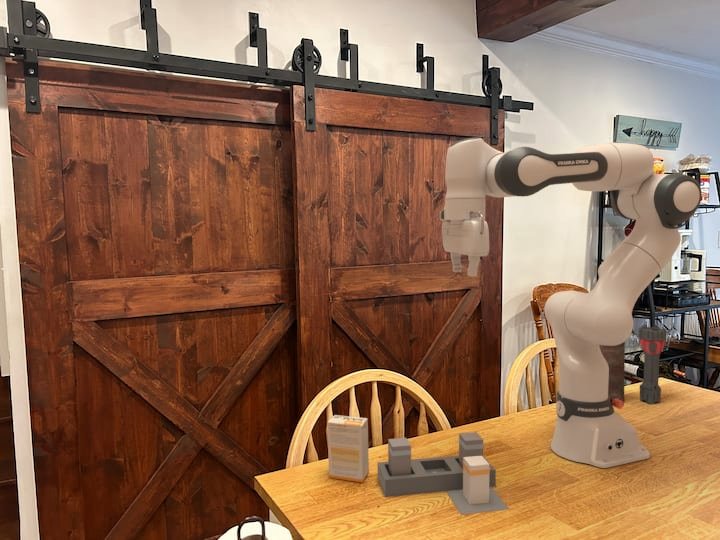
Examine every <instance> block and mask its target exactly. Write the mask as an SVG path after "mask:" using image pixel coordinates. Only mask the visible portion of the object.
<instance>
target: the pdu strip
mask: <svg viewBox="0 0 720 540" xmlns="http://www.w3.org/2000/svg"><path fill="white" fill-rule="evenodd" d="M483 458H484V459H485V460H486V461H487V462H488V463H489V469H490V474H489V487H492V488H493V487H496V478H497V477H496V476H497V473H496V472H497V469H496V468H495V467H494V466H493V465H492V464H491V463H490V462H489V461H488V459H487V458H486V457H485V456H484V455H483ZM377 480H378V483H379V485H380V487H381V489H382V493H383V494H384V495H383V496H384V497H385V498H389V497H399V496H408V495H420V494H427V493H428V494H429V493H431V494H432V493H440V492H446V491H450V490H460V489H463V469H462V468H461V466H460V465H459V454H458V455H447V456H437V457H435V456H434V457H425V458H424V457H423V458H414V459H413V458H411V475H401V476H389V474H388V461H378V462H377Z"/></svg>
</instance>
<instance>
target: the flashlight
mask: <svg viewBox="0 0 720 540" xmlns="http://www.w3.org/2000/svg"><path fill="white" fill-rule="evenodd" d="M637 338H638V339H639V343H640V346H641V349H642V352H643V354H644V360H643V361H644V362H643V363H644V364H643V381H642V383H641V384H640V385H639V400H640V401H641V402H644V401H645V402H646V403H647V404H650V405H653V404H655V403H657V404H658V403H661V392H662V387H660V385H659V375H660V374H659V373H660V355H661V354H662V352H663V349H664V348H665V347H664V346H665V342H666V340H667V328H666V327H662V328H661V327H659V326H656V325H655V326H652V327H651V326H648V325H642V326H639V328H638V337H637Z"/></svg>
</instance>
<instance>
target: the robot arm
mask: <svg viewBox="0 0 720 540" xmlns="http://www.w3.org/2000/svg"><path fill="white" fill-rule="evenodd" d="M654 167H655V157H654V155H653V153H652V151H651V150H650V149H649V148H648V147H646V146H644V145H643V144H636V143H631V142H601V143H595V144H591V145H587V146H582V147H580V148H577V149H576V150H575V151H574V152H573V153H557V154H556V153H553V154H552V153H551V154H550V153H546V152H543V151H541V150H539V149H536V148H533V147H530V146H520V147H519V146H518V147H516V148H514V149H512V150H511V149H510V150H509V151H506V152H502V151H500V150H498V149H495V148H494V147H492V146H490V145H489V144H488V143H487V142H486V141H484V139H483V138H482V137H469V138H468V137H467V138H464V139H460V140H457V141H456V140H455V142H453V143H451V144H450V145H449V147H448V149H447V152H446V158H445V169H444V170H445V172H444V173H445V174H444V181H445V184H446V193H445V196H444V197H445V198H444V207H443V208H442V209H441V210H440V212H439V220H440V221H442V223H441V233H442V235H441V236H442V246H443V250H444V252H447V253H450V259H451V263H452V272H454V273H462V272H463V264H462V260H461V257H462V255H464V256H468V257H467V258H468V267H467V268H466V271H467V272H466V275H467V276H468V277H473V278H474V277H477V276H478V269H479V264H480V262H481V257H487V256H489V254H490V253H489V252H490V234H489V232H490V231H489V226H488V222H487V221H486V196H489V197H493V198H500V199H501V198H509V197H529V196H533V195H535V194H537V193H538V192H540V191H542V190H543V189H545V188H547V187H548V186H552V185H565V184H572V185H573V187H575V188H576V189H577V190H579V191H585V192H608V191H610V195H609V200H610V205H611V209H612V211H613V212H614V213H615V215H617V216H619V217H620V218H623V219H625V220H630V221H635V223H634V226H633V229H632V231H631V232H630V234H628V235H627V236H626V237H625V238H624V239H623V240H622V241H620V243H619V244H618V245H617V247H615V249H614V250H612V252H611V253H610V254H609V255H608V256H607V257H606V258H605V260H603V261H602V262H601V264H600V265H599V267H598V269H597V274H598V279H597V282H596V284H595V285H594V287H593V289H592V290H590V291H589V292H588V293H587V292H583V291H577V290H571V289H570V290H562V291H558V292H557V291H556V292H555V293H552V294H551V295H550V296H549V297H548V298H547V300H546V302H545V304H544V309H543V310H544V318H545V319H546V320H547V322H548V324H549V326H550V327H551V331H552V334H553V337H554V338H553V339H554V342H555V343H554V344H555V346H556V351H557V357H558V391H557V392H556V405H555V406H556V415H557V416H556V422H555V429H554V432H553V433H554V434H553V437H552V440H551V443H550V445H549V446H550V449H551V451H552V452H554V453H555V454H556V455H558V456H559V457H562V458H564V459H566V460H570V461H573V462H576V463H581V464H582V463H583V464H588V465H591V466H594V467H596V468H601V469H606V468H607V469H608V468H612V467H616V466H621V465H626V464H629V463H634V462H638V461H643V460H648V459H650V458H651V455H650V451H649V449H647V448H646V447H645V445H643V444H642V443H640V438H639V433H638V431H637V429H636V428H635V426H634V425H633V424H631V423H630V422H629V421H627V420H626V419H625V418H623V416H622V415H620V414H619V413H617V411H615V409H614V407H615V408H617V409H618V410H621V409H623V408H624V407H625V402H623V401H620V400H619V399H614V400H613V398H612V397H610V396H608V381H609V367H608V363H607V361H606V360H605V358H604V357H603V355H602V353H601V350H600V347H599V345H605V346H615V345H619V344H621V343H623V342H626V341H627V340H628V339H629V338H630V336H631V334H632V332H633V329H634V318H633V315H632V313H633V309H634V307H635V304H636V302H637V301H638V298H639V297H640V295H641V294H642V292H644V291H645V289H647V287H648V286H649V285H650V284H651V283H652V281H653V280H655V278H657V276H658V275H659V274H660V273H661V272H662V270H663V269H664V268H665V267H666V266H667V265H668V263H669V262H670V260H671V259H672V258H673V256H674V254H675V253H676V251H677V250H678V248H679V246H680V244H681V241H682V240H681V239H682V238H681V233H680V230H679V229H680V228H682V227H684V226H686V225H687V224H688V223H689V222H690V219H691V218H692V217H693V216H694V215H695V213H696V212H697V210H698V208H699V206H700V204H701V200H702V189H701V185H700V183H699V181H697V179H695V178H694V177H692V176H690V175H687V174H683V173H676V172H675V173H670V174H669V173H668V174H667V173H657V172H656V171H654Z"/></svg>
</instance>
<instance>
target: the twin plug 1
mask: <svg viewBox="0 0 720 540" xmlns="http://www.w3.org/2000/svg"><path fill="white" fill-rule="evenodd" d="M387 442H388V443H387V449H388V450H387V452H388V454H387V455H388V456H387V462H388V474H389V476H401V475H411V459H412V445H411V443H410V441H409V440H408V438H407V437H399V438H388V439H387Z"/></svg>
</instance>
